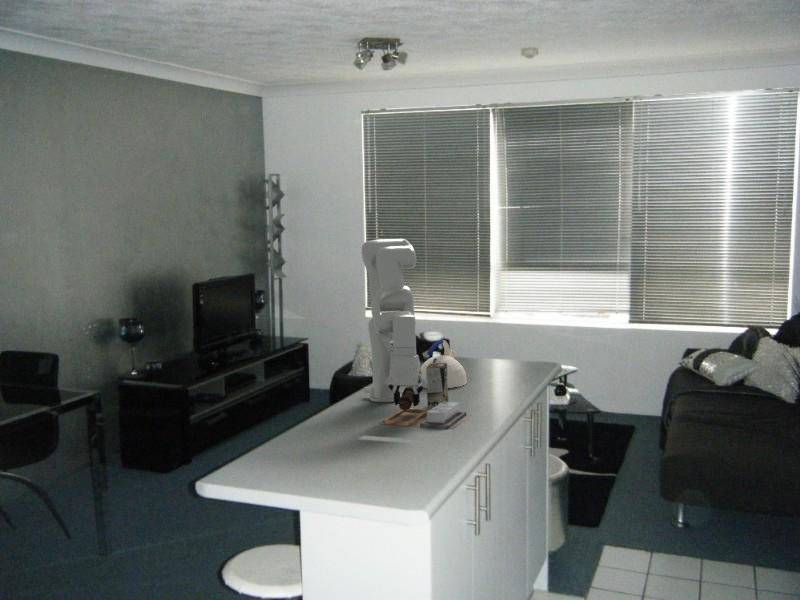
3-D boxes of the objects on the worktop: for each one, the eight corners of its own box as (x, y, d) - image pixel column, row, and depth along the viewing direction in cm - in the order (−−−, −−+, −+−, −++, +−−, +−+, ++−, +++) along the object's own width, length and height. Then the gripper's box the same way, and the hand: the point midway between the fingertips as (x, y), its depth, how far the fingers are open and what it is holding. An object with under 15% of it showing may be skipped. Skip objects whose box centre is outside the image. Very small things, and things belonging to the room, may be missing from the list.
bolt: (401, 416, 264) (408, 404, 279) (414, 409, 263) (421, 397, 278) (392, 401, 264) (399, 390, 278) (405, 394, 263) (412, 383, 277)
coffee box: (445, 413, 280) (444, 367, 278) (427, 413, 281) (425, 367, 280) (449, 407, 289) (447, 362, 287) (431, 406, 290) (429, 362, 289)
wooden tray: (378, 427, 265) (378, 420, 265) (400, 413, 282) (400, 407, 282) (453, 433, 255) (453, 426, 255) (471, 418, 272) (471, 412, 271)
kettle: (476, 381, 332) (474, 337, 330) (451, 391, 315) (450, 345, 313) (433, 377, 343) (431, 335, 341) (407, 387, 326) (405, 342, 324)
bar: (427, 425, 260) (426, 412, 260) (443, 414, 274) (442, 401, 273) (444, 427, 258) (444, 413, 257) (459, 415, 271) (459, 402, 271)
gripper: (376, 352, 268) (378, 405, 270) (424, 354, 262) (426, 408, 263) (385, 348, 275) (387, 400, 277) (433, 350, 268) (435, 403, 270)
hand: (406, 404), depth 270 cm, fingers closed on bolt, 6 cm apart
